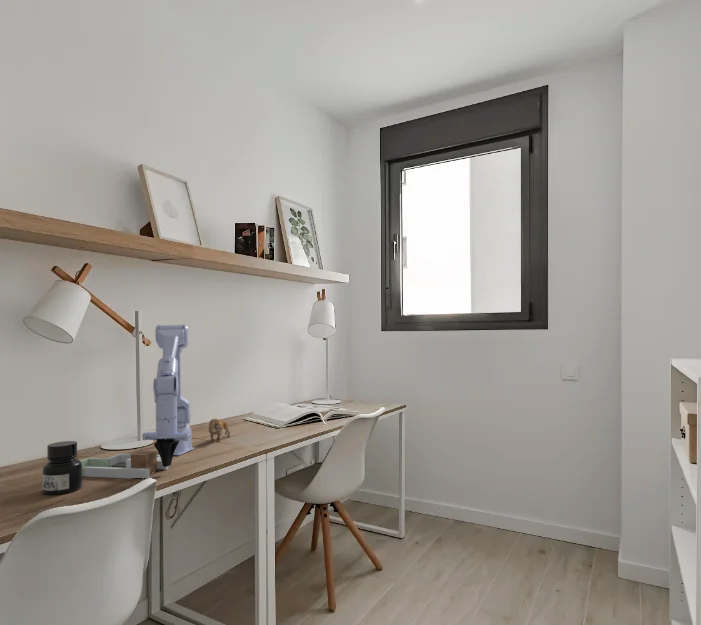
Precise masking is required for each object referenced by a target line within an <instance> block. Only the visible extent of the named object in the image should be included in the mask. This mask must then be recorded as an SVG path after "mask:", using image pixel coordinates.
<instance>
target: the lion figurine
mask: <svg viewBox="0 0 701 625" xmlns="http://www.w3.org/2000/svg"><path fill="white" fill-rule="evenodd" d="M223 429H224V431H225V433H224V435H225V436H226V438H230V437H231V432H230V430H229V425H228V422H227V421H226V420H221V421H220V419H218V418H212V419H211V420H210V421H209V423H208V433H210V441H209V442H210V443H214V439H215V438H214V436H216V435H217V437H216V442H217V443H220V442H221V437H222V434H223V433H222V431H223Z"/></svg>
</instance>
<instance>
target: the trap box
mask: <svg viewBox="0 0 701 625" xmlns="http://www.w3.org/2000/svg"><path fill="white" fill-rule="evenodd" d="M131 454H132V453H118V454H115V455H112V456H109V457H86V458H84V459H80V461H81V463H82V477H86V478H87V477H89V478H91V477H92V478H112V479H113V478H114V479H132V478H143V479H142V480H145V479H144V478H148V477H150V475H151V474H150V471H149V469H140V468H131ZM112 466H113V467H112ZM114 466H115V467H114ZM117 466H121V467H117ZM123 466H124V467H123ZM169 468H170V466H168V467H163V464H162V461H161V457H160V455H159V454H157V469H163V470H162V471H167V470H169ZM148 479H149V478H148Z"/></svg>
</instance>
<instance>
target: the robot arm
mask: <svg viewBox="0 0 701 625" xmlns="http://www.w3.org/2000/svg"><path fill="white" fill-rule="evenodd" d="M154 332H155V335H154V337H155V343H156V344H157V346H158V348H159V349H161V350H162V357H161V358H160V359H159V360H158V362H157V371H156V378H154V379H153V384H152V386H153V387H152V388H153V396H154V403H155V431H151V432H150V431H149V432H148V431H146V432H144V433H142V436H141V437H142V440H141V441H147V440H148V441H156V442H154V443H153V446H154V447H155V449H156V451H157V452H158V455H160V457H161V461H162V464H163V467H168V466H169V467H170V466H171V465H172V461H173V457H174V456H181V455H183V454H185V453H187V452H189V451H192V450H194V449H195V447H193V440H192V439H193V437H192V436H193V430H192V428H191V426H190V425H189V424H190V423H191V405H190V404H191V403H190V401H189V400H188V399H186V398H185V397H183V396H182V379H181V378H182V373H181V372H182V371H181V370H182V366H181V361H182V360H181V359H182V358H181V355H182V351H183V349H186V348H187V347H188V346H189V327H188V325H187V324H186V323H184V324H157V325H156V326H155V330H154Z"/></svg>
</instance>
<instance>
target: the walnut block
mask: <svg viewBox="0 0 701 625" xmlns="http://www.w3.org/2000/svg"><path fill="white" fill-rule="evenodd" d="M157 452H158V451H157V450H146V449H145V450H139V451H136V452H134V453H130V454H131V468H140V469H149V471H150V473H152V472H154V471H158V470H157V455H158V453H157ZM154 473H155V472H154ZM152 474H153V473H152Z"/></svg>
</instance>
